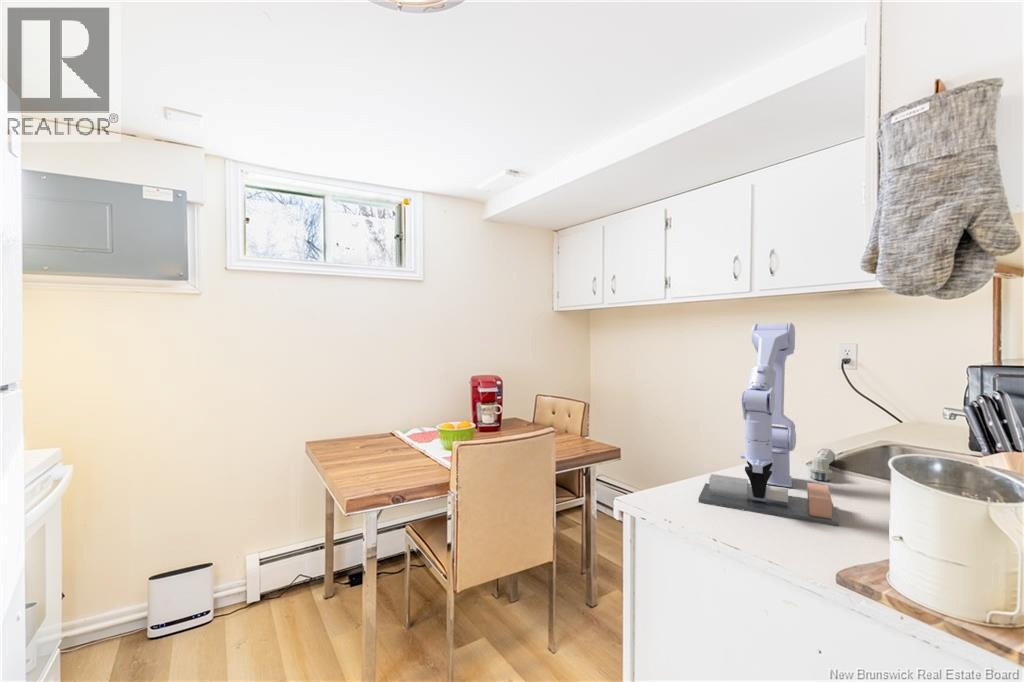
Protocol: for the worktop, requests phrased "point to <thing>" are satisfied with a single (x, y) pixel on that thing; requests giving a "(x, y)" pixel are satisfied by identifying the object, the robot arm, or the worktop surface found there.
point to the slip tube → (770, 494)
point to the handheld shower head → (822, 465)
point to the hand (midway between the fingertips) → (759, 493)
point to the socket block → (819, 500)
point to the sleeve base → (735, 496)
